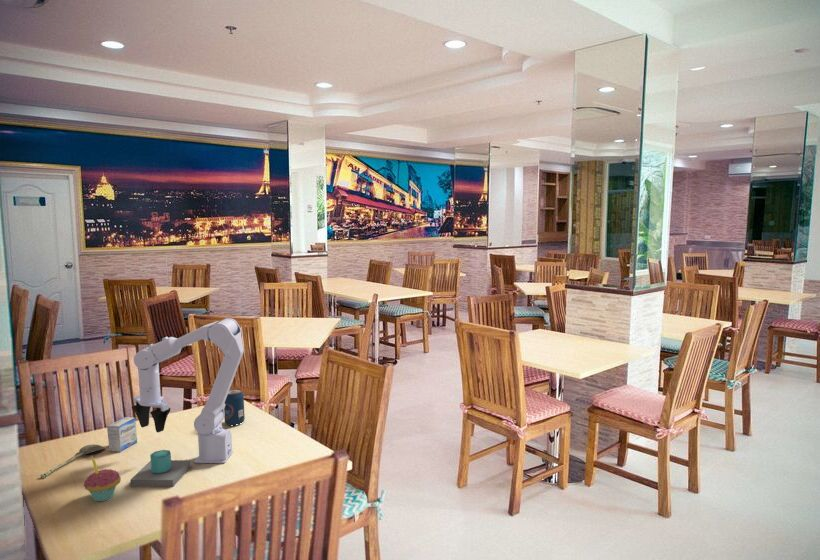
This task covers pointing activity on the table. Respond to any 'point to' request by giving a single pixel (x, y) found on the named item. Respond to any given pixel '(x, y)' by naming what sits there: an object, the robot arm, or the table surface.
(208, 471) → the table surface
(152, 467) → the cap
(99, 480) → the cupcake
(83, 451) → the soupspoon
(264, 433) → the table surface
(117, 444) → the medicine box
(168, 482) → the stud stand
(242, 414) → the soda can
